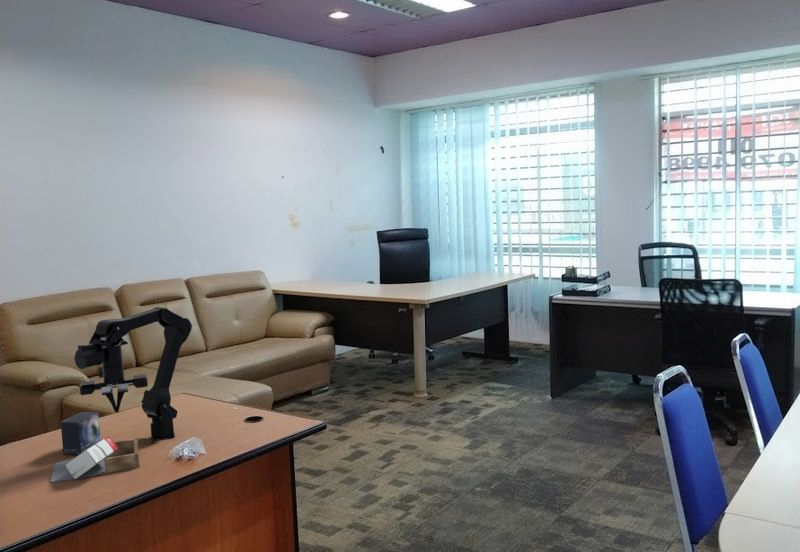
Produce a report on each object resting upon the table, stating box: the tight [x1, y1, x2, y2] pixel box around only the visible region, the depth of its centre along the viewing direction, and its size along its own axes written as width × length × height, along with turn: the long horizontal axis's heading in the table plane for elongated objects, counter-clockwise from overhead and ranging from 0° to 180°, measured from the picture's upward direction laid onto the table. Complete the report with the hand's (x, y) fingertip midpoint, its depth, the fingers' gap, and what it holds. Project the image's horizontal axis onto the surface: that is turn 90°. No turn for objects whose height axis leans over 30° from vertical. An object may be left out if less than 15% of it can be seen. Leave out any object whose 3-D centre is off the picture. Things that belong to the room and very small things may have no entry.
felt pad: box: [49, 459, 107, 484], centre depth 205 cm, size 14×16×1 cm
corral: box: [104, 437, 140, 474], centre depth 209 cm, size 9×15×4 cm, turn 21°
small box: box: [60, 411, 101, 456], centre depth 221 cm, size 11×6×10 cm, turn 168°
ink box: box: [65, 435, 118, 480], centre depth 201 cm, size 9×5×12 cm
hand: (116, 412), depth 216 cm, fingers closed
